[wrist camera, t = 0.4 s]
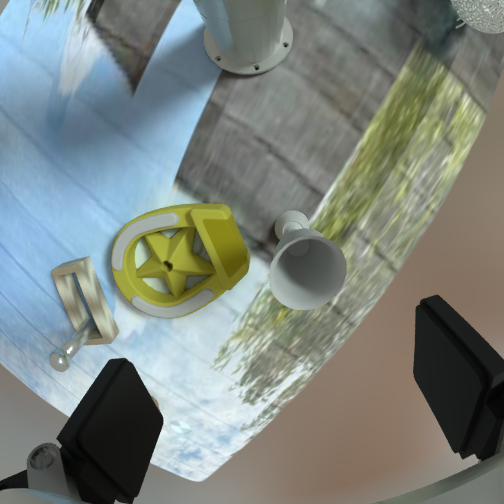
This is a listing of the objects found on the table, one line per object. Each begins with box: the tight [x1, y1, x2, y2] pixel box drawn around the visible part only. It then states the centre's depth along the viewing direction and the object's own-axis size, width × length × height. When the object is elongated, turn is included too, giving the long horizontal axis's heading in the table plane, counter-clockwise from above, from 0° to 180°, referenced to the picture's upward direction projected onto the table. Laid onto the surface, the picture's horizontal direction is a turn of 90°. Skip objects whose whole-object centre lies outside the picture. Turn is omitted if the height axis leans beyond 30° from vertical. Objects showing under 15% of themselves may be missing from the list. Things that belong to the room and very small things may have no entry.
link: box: [51, 256, 119, 345], centre depth 47 cm, size 15×7×4 cm, turn 12°
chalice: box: [269, 210, 346, 310], centre depth 35 cm, size 7×7×18 cm
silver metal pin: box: [49, 315, 98, 372], centre depth 43 cm, size 4×4×16 cm
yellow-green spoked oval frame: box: [111, 203, 250, 318], centre depth 44 cm, size 16×21×5 cm
